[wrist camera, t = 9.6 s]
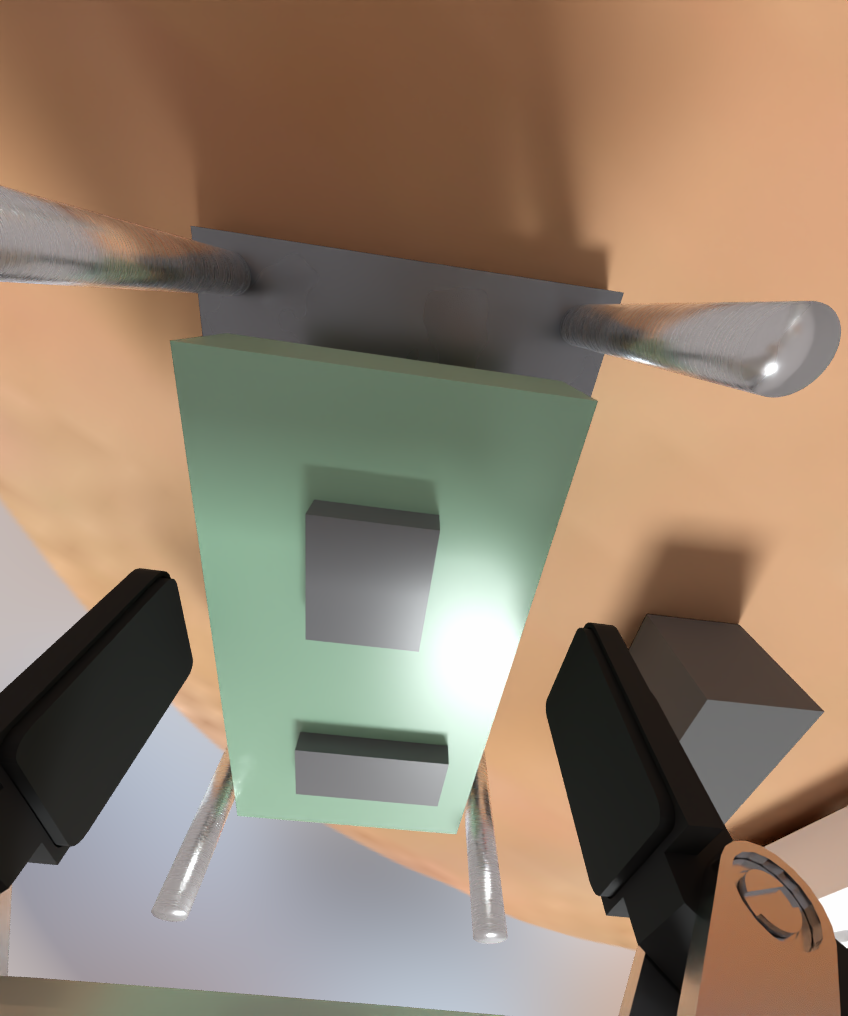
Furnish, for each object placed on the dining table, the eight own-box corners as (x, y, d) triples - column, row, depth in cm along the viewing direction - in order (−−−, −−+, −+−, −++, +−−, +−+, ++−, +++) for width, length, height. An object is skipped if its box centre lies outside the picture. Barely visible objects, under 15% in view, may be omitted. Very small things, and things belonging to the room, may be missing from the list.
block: (646, 614, 16) (707, 699, 13) (739, 624, 17) (823, 711, 13) (586, 736, 20) (619, 829, 16) (662, 743, 20) (712, 837, 17)
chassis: (210, 232, 11) (-232, 81, 4) (607, 293, 11) (922, 271, 4) (251, 689, 19) (143, 924, 12) (482, 712, 19) (513, 951, 12)
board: (226, 333, 8) (145, 343, 6) (562, 381, 8) (612, 409, 6) (261, 752, 14) (229, 838, 12) (453, 770, 15) (457, 856, 12)
